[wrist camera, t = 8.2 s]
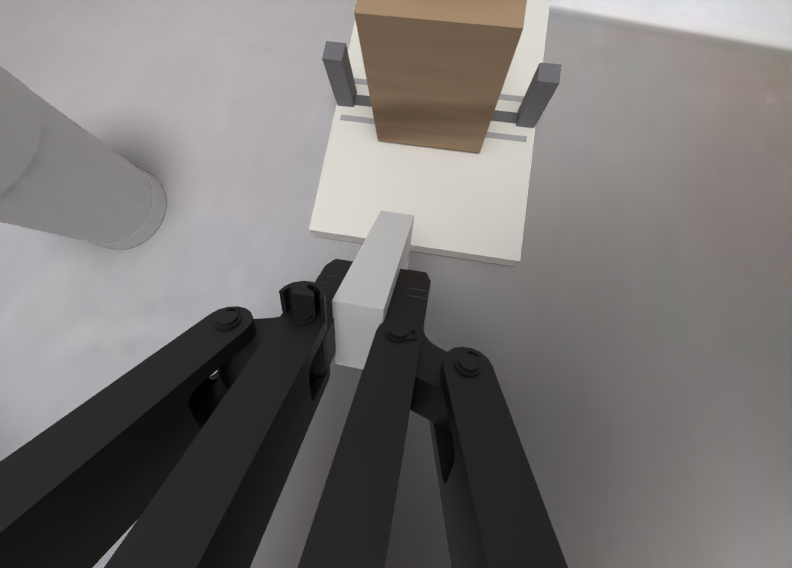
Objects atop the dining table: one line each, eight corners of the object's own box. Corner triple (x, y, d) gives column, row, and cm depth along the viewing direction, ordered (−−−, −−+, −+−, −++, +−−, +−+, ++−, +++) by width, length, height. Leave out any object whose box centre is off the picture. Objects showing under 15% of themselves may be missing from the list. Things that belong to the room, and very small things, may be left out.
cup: (174, 152, 25) (-35, -11, 14) (178, 251, 24) (-51, 165, 12) (76, 170, 26) (-215, 24, 14) (74, 268, 24) (-251, 201, 12)
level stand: (513, 266, 22) (544, 243, 17) (315, 236, 24) (285, 205, 18) (542, 17, 25) (576, -69, 20) (366, 2, 27) (354, -84, 21)
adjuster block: (479, 153, 22) (550, -50, 11) (377, 140, 23) (339, -65, 11) (490, 75, 23) (567, -190, 11) (392, 64, 24) (371, -198, 12)
